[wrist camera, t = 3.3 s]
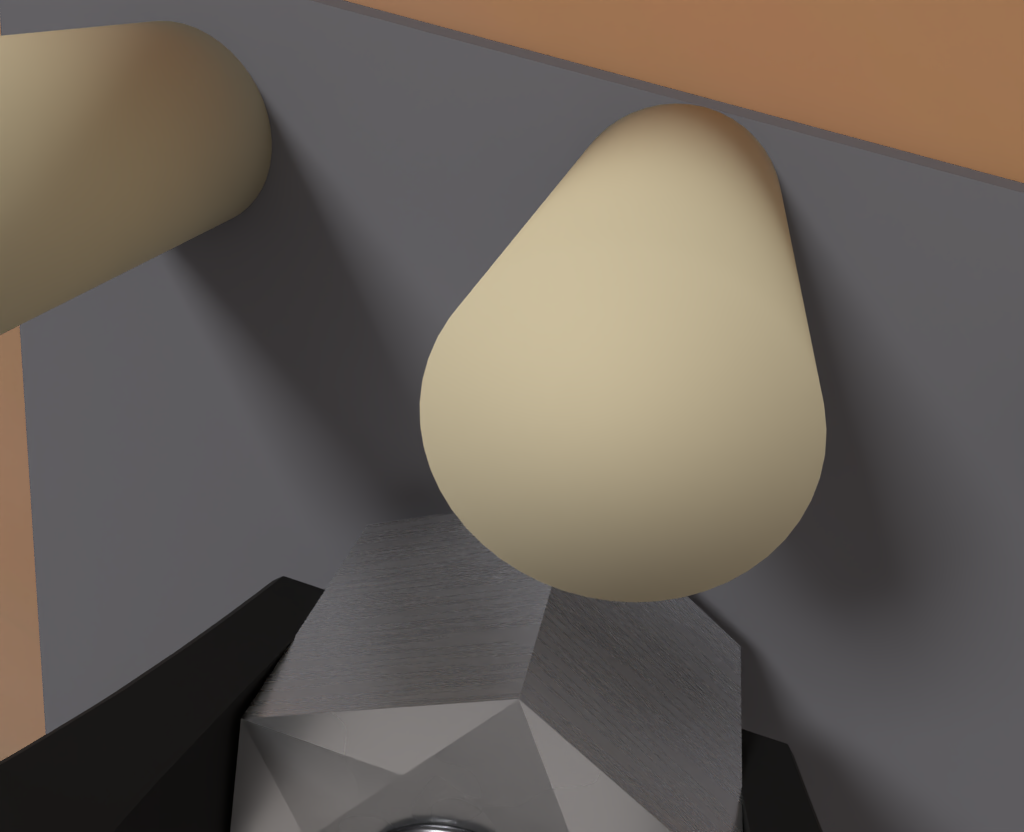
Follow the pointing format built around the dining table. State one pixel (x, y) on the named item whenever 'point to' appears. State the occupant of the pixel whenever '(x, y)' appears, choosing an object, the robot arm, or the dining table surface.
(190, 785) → the robot arm
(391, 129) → the spacer field
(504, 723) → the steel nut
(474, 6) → the dining table surface
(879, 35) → the dining table surface
